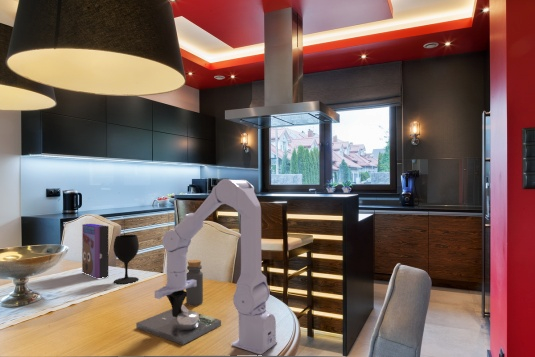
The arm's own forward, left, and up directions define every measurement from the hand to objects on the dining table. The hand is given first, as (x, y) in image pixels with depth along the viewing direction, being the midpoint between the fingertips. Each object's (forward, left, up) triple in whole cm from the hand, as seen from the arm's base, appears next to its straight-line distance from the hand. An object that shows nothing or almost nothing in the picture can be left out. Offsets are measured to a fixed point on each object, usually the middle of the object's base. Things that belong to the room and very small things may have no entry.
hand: (176, 316), depth 100 cm
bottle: (+10, -17, -3) cm, 21 cm away
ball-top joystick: (-3, -1, -1) cm, 3 cm away
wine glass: (+57, -21, -3) cm, 61 cm away
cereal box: (+79, -19, -3) cm, 82 cm away
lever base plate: (-1, 0, -3) cm, 3 cm away
